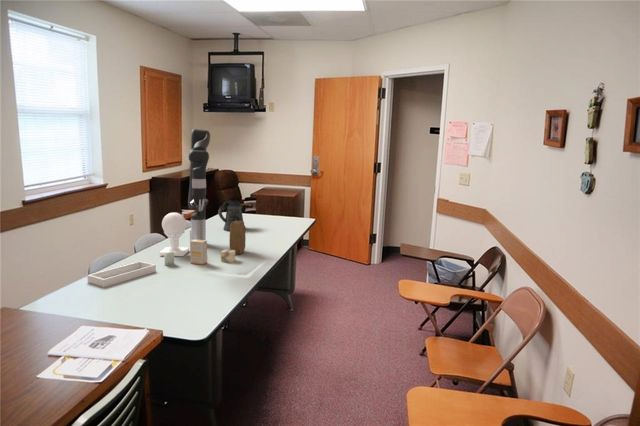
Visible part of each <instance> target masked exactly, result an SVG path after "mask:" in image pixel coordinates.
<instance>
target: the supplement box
mask: <svg viewBox="0 0 640 426" xmlns="http://www.w3.org/2000/svg"><path fill="white" fill-rule="evenodd" d="M189 253H190V255H189V256H190V264H193V265H202V266H204V265H205V264H208V240H197V239H194V240H191V241H190V240H189Z"/></svg>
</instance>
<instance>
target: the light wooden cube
mask: <svg viewBox="0 0 640 426" xmlns="http://www.w3.org/2000/svg"><path fill="white" fill-rule="evenodd" d="M234 261H236V254H235V250H230V249H223V250H221V252H220V262H221V263H228V264H229V263H231V264H232V263H233V262H234Z"/></svg>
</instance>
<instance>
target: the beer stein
mask: <svg viewBox="0 0 640 426" xmlns="http://www.w3.org/2000/svg"><path fill="white" fill-rule="evenodd" d="M242 208H243V204H242V203H240V202H239V201H238V200H237V199H236V198H234V199H233V198H231V199H229V200H228V201H225V202H223V203H222V205H220V206H219V208H218V211H217V212H218V213H217V214H218V216H219V218H220V219H221V220H222V222H223V223H224V226H223V231H224V232H229V233H230V224H231V223H232V222H233V221H244V217H243V211H242ZM223 210H226V211H225V212H226V213H225V217H224V215H223V213H222V212H223ZM244 227H245V228H246V225H245V224H244Z"/></svg>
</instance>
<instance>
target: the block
mask: <svg viewBox="0 0 640 426" xmlns="http://www.w3.org/2000/svg"><path fill="white" fill-rule="evenodd" d="M244 225H245V221H244V220H243V221H233V222H232V223H231V224H230V232H229V250H235V255H242V254H244V253H245V252H244V251H245V249H246V239H247V237H246V226H245V227H244Z"/></svg>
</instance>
